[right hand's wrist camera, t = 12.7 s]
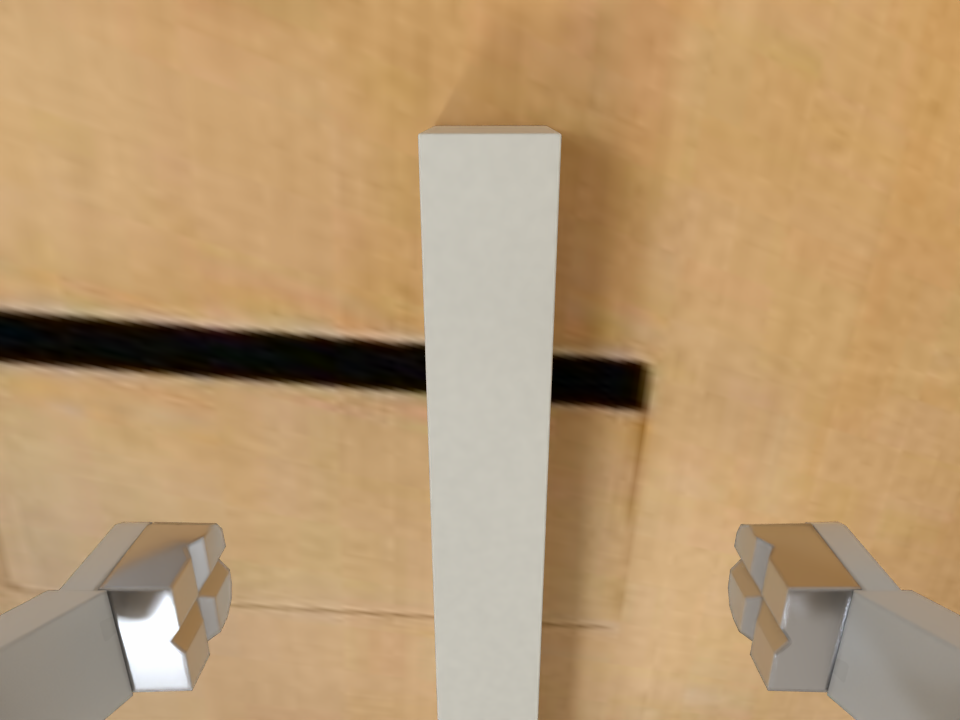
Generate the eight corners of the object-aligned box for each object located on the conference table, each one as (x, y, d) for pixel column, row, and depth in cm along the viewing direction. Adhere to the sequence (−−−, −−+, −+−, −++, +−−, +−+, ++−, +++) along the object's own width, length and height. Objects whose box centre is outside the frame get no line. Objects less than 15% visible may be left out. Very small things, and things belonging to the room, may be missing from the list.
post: (433, 125, 27) (417, 133, 21) (547, 125, 27) (561, 133, 21) (454, 953, 46) (449, 1067, 41) (520, 954, 46) (523, 1069, 41)
